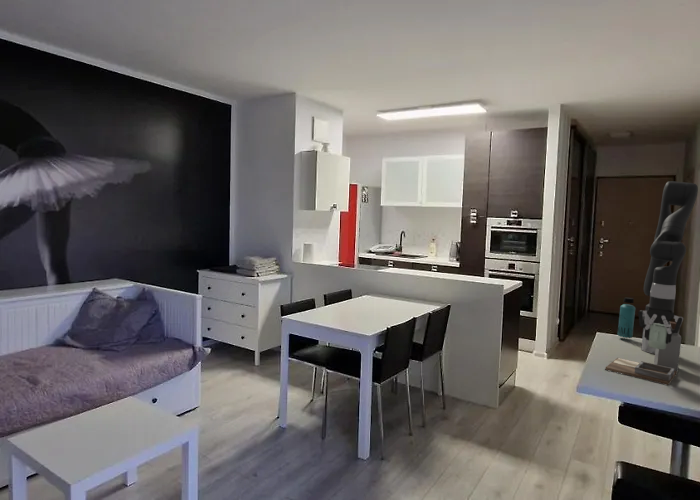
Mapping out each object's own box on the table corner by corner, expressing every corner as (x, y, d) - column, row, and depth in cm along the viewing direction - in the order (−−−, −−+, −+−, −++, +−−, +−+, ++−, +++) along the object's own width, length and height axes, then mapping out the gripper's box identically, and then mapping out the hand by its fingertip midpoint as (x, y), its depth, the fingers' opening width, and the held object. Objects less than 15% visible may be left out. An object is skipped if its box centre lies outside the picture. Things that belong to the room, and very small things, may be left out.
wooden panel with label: (617, 360, 191) (618, 352, 191) (676, 373, 177) (677, 366, 177) (605, 369, 178) (606, 361, 178) (668, 385, 165) (669, 376, 165)
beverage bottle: (628, 337, 227) (632, 296, 225) (635, 341, 220) (639, 299, 219) (614, 336, 228) (618, 296, 226) (620, 340, 221) (624, 298, 219)
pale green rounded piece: (667, 347, 173) (669, 325, 172) (663, 351, 167) (665, 329, 166) (649, 343, 177) (652, 322, 176) (644, 347, 171) (647, 326, 170)
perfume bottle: (674, 366, 186) (679, 321, 184) (677, 371, 180) (682, 325, 178) (654, 363, 189) (658, 319, 187) (656, 368, 183) (661, 322, 181)
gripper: (688, 298, 169) (682, 344, 171) (642, 291, 179) (637, 335, 180) (684, 300, 163) (679, 348, 165) (637, 294, 173) (632, 338, 175)
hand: (657, 341), depth 173 cm, fingers closed on pale green rounded piece, 5 cm apart
